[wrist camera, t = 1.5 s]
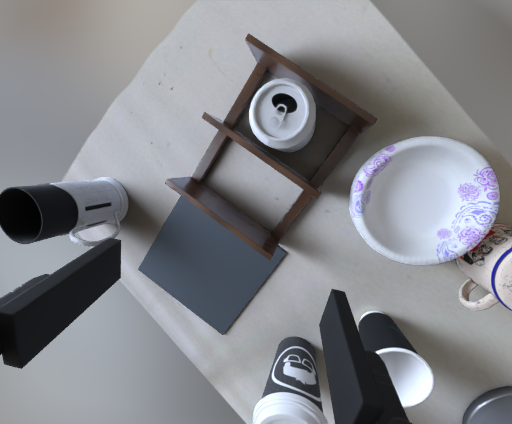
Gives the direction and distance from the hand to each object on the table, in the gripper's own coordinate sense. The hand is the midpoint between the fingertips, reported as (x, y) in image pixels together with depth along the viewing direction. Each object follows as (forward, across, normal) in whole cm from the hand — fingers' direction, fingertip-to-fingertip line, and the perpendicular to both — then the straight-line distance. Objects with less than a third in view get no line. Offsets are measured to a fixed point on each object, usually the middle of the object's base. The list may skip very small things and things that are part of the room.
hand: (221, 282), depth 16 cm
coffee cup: (+22, -12, +27) cm, 37 cm away
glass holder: (+29, +25, +10) cm, 39 cm away
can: (+28, -2, -9) cm, 30 cm away
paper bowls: (+25, -20, -3) cm, 32 cm away
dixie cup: (+22, -22, +17) cm, 36 cm away
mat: (+26, +7, +15) cm, 31 cm away
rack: (+27, 0, -5) cm, 28 cm away
